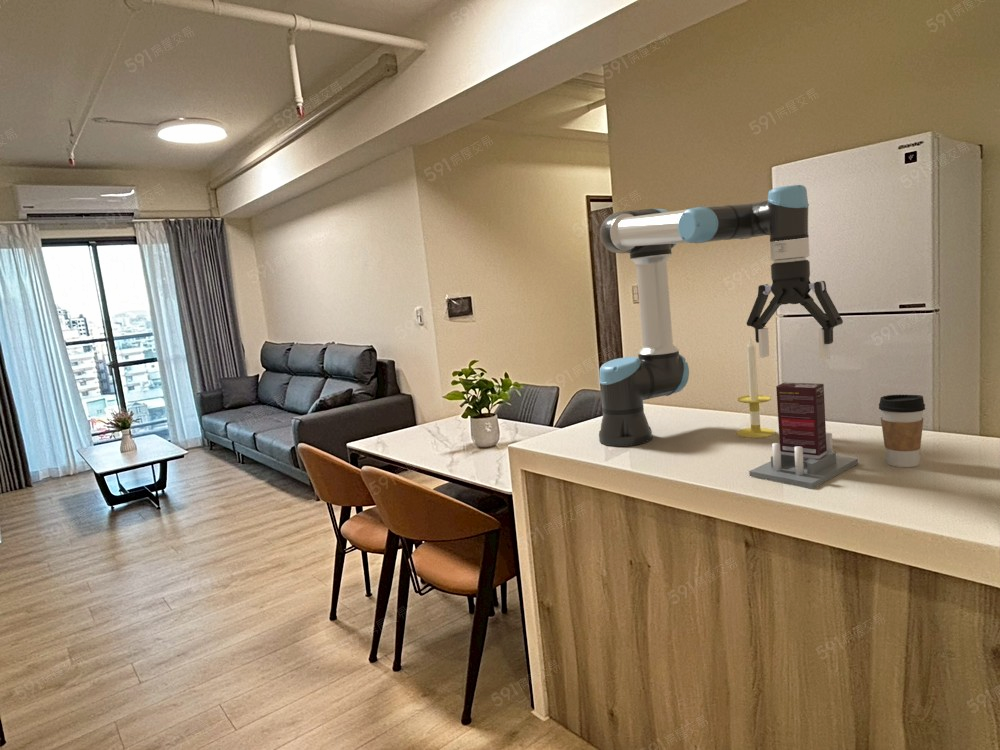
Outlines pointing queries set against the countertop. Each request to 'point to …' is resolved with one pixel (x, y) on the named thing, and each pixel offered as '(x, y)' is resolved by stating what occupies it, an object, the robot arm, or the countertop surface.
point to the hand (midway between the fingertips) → (793, 358)
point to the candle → (754, 400)
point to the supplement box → (802, 419)
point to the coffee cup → (902, 428)
